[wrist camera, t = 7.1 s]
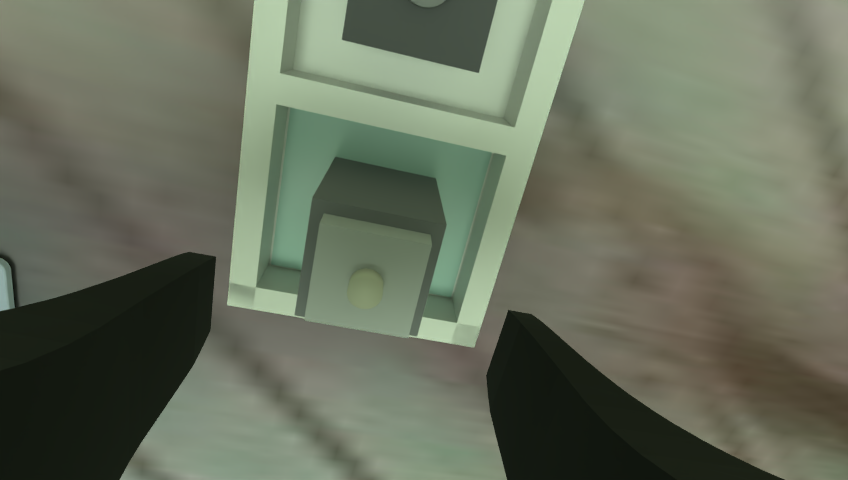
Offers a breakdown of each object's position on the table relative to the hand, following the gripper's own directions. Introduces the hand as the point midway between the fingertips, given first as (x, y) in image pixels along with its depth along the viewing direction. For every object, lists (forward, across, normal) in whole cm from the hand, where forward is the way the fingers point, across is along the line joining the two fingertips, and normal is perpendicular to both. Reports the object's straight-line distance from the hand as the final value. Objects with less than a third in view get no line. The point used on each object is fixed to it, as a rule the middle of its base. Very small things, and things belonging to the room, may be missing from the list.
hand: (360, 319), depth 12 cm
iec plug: (+8, 0, 0) cm, 8 cm away
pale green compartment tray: (+10, 0, -4) cm, 10 cm away
